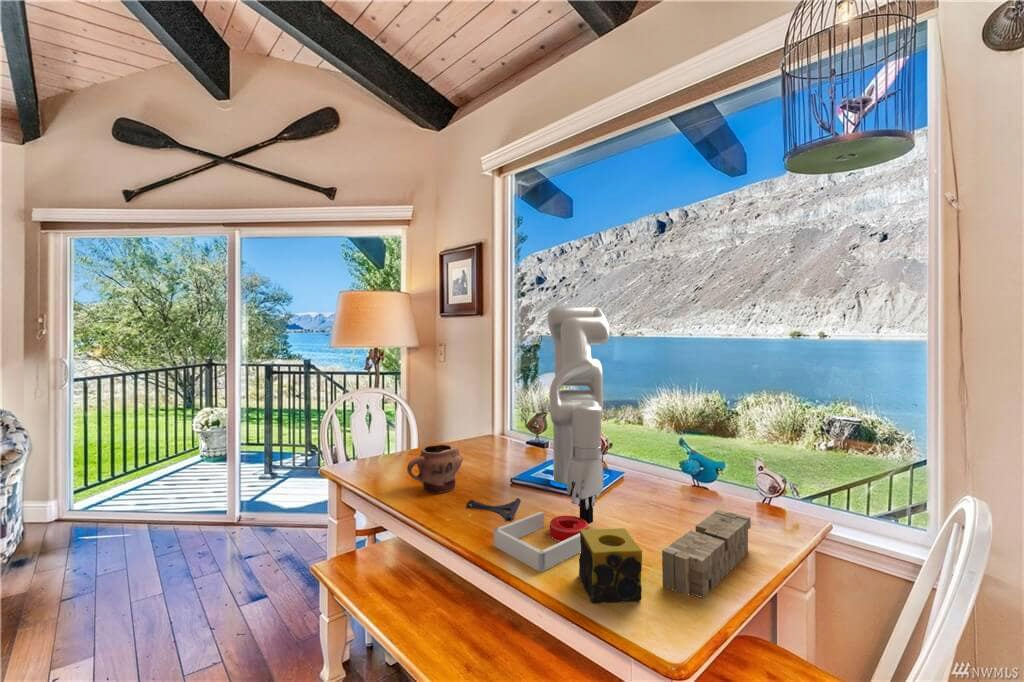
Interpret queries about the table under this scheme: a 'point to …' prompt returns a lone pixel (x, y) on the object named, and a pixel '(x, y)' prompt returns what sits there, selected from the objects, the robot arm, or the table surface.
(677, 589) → the block tower
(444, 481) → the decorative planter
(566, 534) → the decorative ornament
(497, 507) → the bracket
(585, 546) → the olive cube with hole
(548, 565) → the rail
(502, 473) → the table surface
